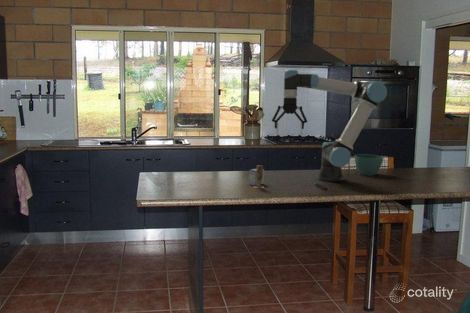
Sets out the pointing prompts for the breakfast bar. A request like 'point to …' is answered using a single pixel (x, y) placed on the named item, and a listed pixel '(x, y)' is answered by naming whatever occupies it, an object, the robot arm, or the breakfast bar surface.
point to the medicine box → (254, 177)
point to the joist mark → (258, 187)
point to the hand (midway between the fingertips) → (288, 134)
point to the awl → (259, 175)
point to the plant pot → (368, 164)
